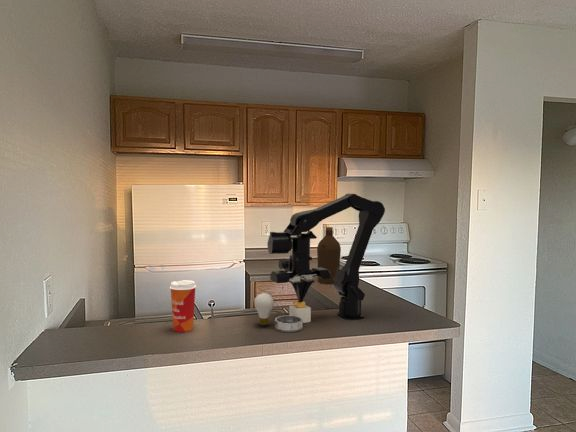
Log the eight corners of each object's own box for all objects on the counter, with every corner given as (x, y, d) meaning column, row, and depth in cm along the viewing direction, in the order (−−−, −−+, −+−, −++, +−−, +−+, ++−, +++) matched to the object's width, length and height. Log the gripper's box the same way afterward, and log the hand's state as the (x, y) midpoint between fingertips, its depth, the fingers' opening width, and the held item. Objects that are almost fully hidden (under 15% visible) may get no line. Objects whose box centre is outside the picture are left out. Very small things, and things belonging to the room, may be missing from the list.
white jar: (303, 317, 138) (303, 303, 138) (310, 321, 134) (310, 306, 134) (289, 319, 136) (289, 304, 136) (296, 323, 132) (296, 308, 131)
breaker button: (301, 310, 136) (301, 300, 136) (305, 312, 134) (305, 302, 134) (294, 311, 135) (295, 301, 135) (298, 313, 133) (298, 303, 133)
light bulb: (275, 323, 132) (276, 291, 131) (270, 329, 126) (270, 296, 125) (257, 322, 133) (258, 290, 133) (251, 327, 127) (251, 294, 127)
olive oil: (340, 285, 187) (341, 228, 185) (316, 284, 188) (317, 228, 186) (339, 280, 198) (340, 226, 196) (316, 279, 198) (317, 226, 197)
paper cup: (165, 328, 126) (165, 281, 125) (189, 323, 131) (188, 278, 130) (177, 335, 120) (176, 286, 119) (201, 330, 125) (201, 283, 124)
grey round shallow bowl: (294, 322, 133) (294, 314, 133) (307, 330, 126) (307, 321, 126) (270, 325, 130) (270, 317, 129) (282, 334, 122) (282, 325, 122)
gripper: (314, 248, 145) (313, 293, 146) (263, 251, 137) (263, 298, 138) (331, 252, 135) (330, 301, 136) (278, 256, 127) (277, 307, 128)
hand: (300, 301), depth 135 cm, fingers closed, pressing on breaker button
